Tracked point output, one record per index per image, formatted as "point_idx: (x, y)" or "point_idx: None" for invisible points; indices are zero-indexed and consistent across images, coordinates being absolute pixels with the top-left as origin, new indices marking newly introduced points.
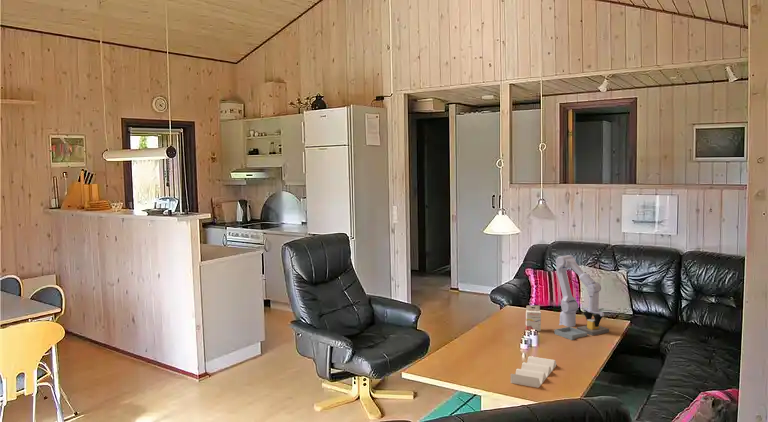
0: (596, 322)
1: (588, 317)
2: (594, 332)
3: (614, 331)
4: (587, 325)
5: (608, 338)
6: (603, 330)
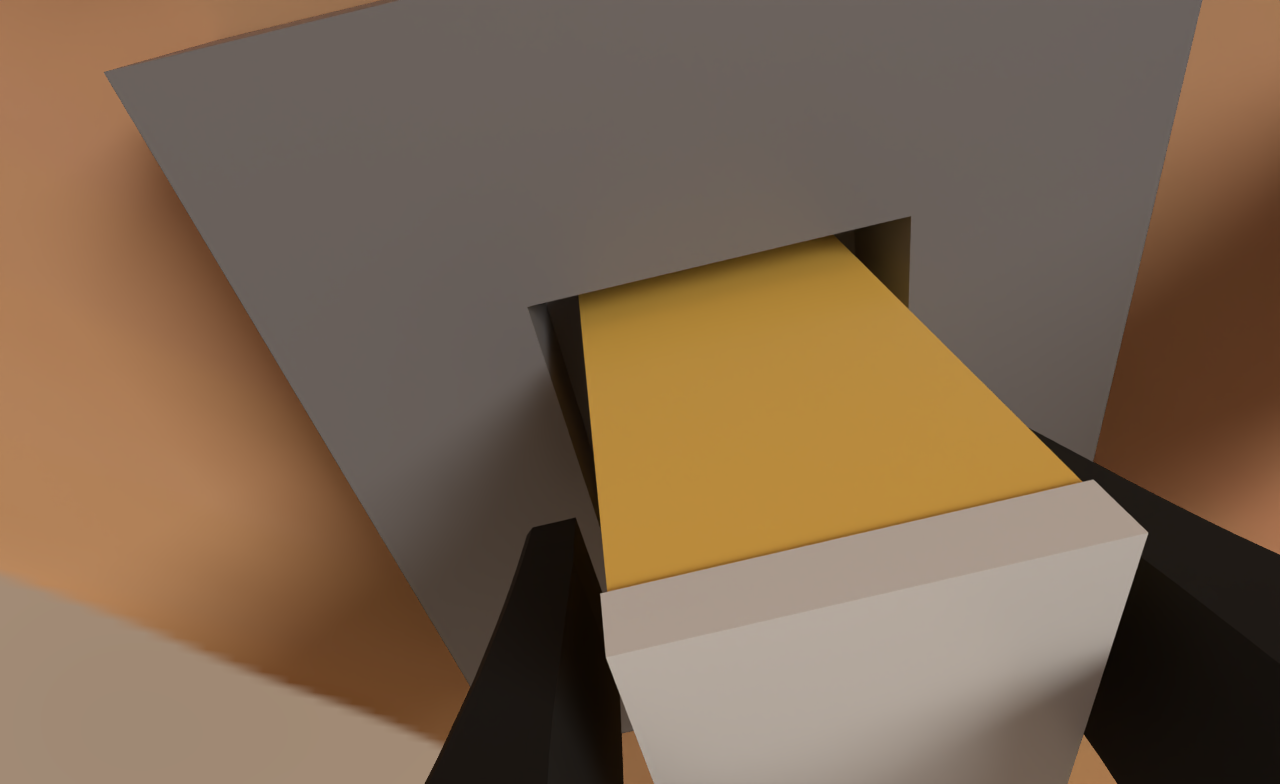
0: (459, 728)
1: (1263, 745)
2: (213, 217)
3: (622, 755)
4: (899, 322)
5: (26, 461)
6: (430, 605)
